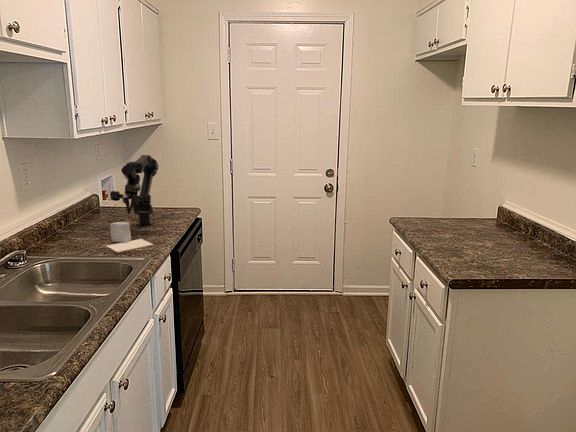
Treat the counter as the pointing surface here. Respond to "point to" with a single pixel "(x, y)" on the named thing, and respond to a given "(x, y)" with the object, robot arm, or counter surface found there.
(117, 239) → the medicine box
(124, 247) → the pale rubber mat
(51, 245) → the counter surface
